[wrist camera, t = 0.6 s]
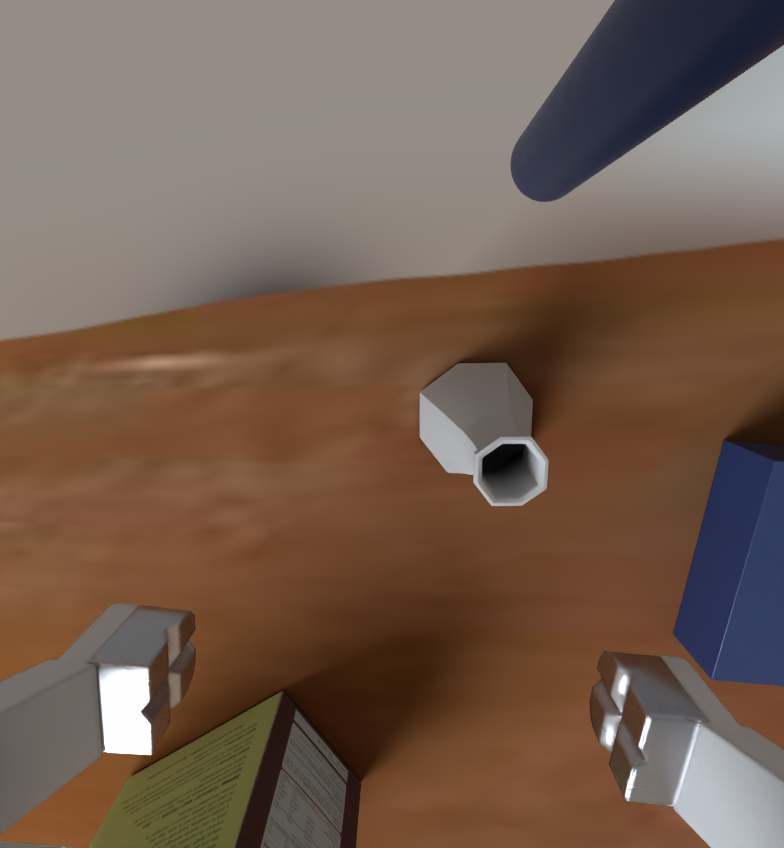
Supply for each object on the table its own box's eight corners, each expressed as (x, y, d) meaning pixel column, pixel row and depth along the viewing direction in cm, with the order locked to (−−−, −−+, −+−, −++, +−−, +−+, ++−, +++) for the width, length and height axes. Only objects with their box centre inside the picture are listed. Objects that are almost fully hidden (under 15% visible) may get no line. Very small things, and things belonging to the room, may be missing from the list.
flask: (547, 452, 30) (617, 522, 20) (437, 487, 31) (454, 571, 21) (515, 343, 28) (575, 361, 19) (400, 382, 29) (400, 419, 19)
